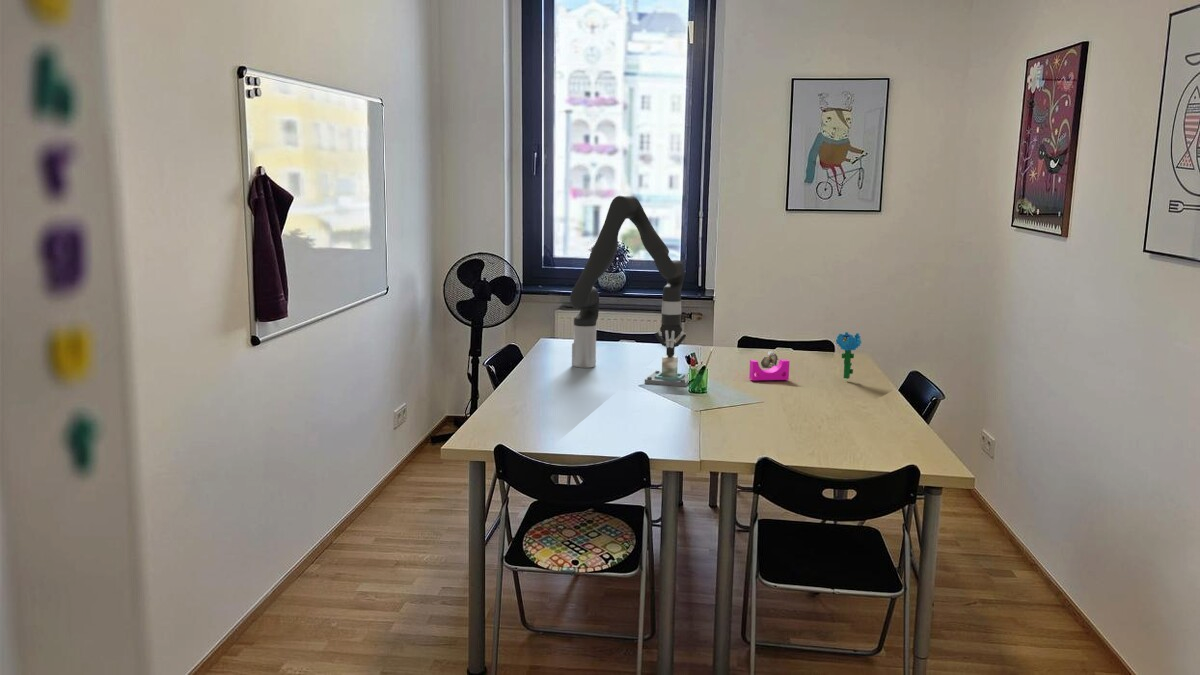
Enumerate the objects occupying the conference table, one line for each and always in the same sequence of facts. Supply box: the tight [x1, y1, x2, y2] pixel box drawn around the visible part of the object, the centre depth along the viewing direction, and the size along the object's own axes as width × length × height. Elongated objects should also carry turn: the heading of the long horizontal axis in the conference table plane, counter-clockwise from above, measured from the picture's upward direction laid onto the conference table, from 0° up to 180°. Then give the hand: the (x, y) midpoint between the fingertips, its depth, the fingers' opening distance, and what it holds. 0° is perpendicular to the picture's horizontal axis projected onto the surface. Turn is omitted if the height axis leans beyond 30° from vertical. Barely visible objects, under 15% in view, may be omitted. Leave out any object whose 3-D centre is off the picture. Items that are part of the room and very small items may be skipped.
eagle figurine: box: [760, 350, 779, 369], centre depth 382 cm, size 8×7×9 cm
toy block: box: [748, 358, 790, 381], centre depth 358 cm, size 15×6×8 cm, turn 99°
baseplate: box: [644, 370, 690, 387], centre depth 350 cm, size 16×16×2 cm
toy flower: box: [835, 331, 862, 380], centre depth 359 cm, size 9×9×18 cm
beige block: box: [661, 354, 679, 378], centre depth 349 cm, size 5×5×8 cm
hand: (670, 356), depth 348 cm, fingers closed
